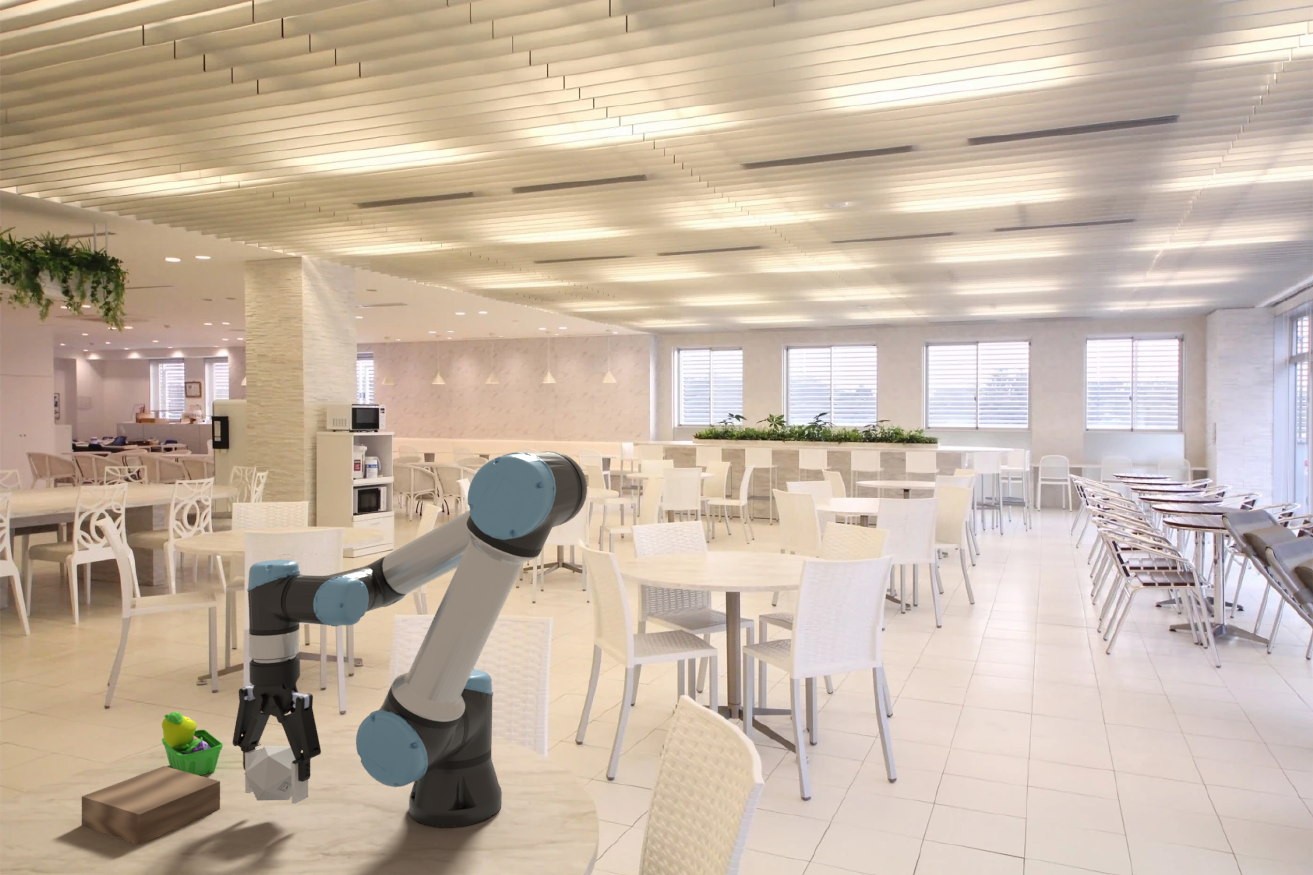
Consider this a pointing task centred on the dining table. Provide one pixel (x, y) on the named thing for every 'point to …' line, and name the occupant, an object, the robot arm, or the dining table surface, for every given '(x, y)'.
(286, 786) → the die
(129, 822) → the walnut block
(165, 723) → the fruit basket
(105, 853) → the dining table surface
